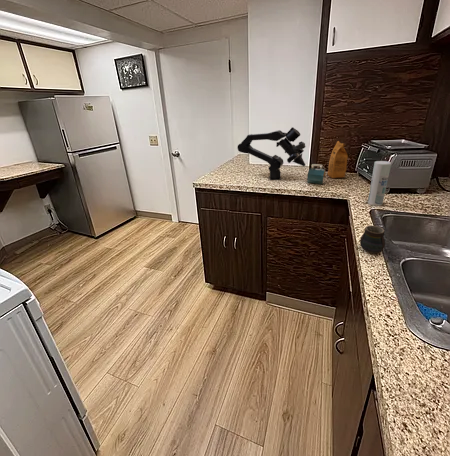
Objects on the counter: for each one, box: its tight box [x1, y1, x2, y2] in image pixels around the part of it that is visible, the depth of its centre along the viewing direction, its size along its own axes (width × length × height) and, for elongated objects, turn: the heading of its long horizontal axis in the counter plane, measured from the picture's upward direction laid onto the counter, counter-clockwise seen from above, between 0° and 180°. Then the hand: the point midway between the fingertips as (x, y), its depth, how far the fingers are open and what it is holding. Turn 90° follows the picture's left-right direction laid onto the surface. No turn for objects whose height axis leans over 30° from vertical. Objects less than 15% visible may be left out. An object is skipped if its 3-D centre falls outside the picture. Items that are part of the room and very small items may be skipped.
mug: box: [306, 163, 327, 185], centre depth 150 cm, size 9×8×12 cm
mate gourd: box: [359, 224, 386, 254], centre depth 82 cm, size 7×8×10 cm
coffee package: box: [327, 140, 349, 179], centre depth 158 cm, size 10×12×22 cm
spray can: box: [367, 160, 392, 207], centre depth 115 cm, size 6×6×20 cm
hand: (304, 165), depth 152 cm, fingers closed
